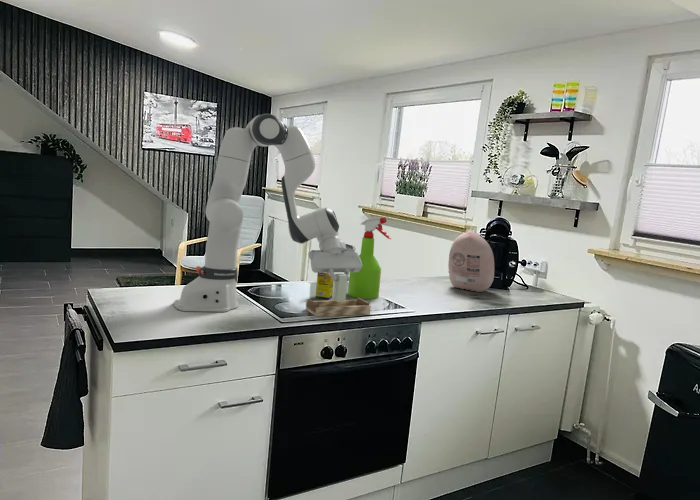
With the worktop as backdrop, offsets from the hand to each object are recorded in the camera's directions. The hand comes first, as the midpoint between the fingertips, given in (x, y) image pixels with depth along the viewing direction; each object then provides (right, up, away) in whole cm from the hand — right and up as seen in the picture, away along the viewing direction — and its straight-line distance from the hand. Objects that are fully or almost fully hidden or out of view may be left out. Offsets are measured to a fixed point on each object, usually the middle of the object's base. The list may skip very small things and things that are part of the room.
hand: (341, 280), depth 193 cm
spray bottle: (+11, -9, +34) cm, 37 cm away
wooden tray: (-2, -12, +2) cm, 12 cm away
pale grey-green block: (-1, -8, +2) cm, 8 cm away
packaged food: (+63, -9, +70) cm, 95 cm away
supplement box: (-8, -9, +24) cm, 27 cm away
